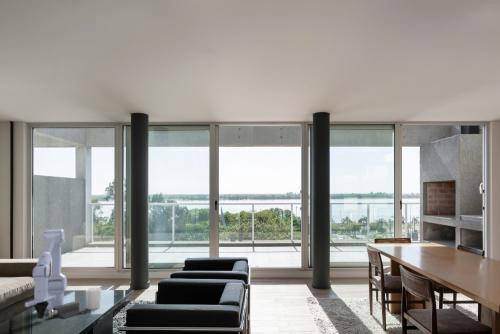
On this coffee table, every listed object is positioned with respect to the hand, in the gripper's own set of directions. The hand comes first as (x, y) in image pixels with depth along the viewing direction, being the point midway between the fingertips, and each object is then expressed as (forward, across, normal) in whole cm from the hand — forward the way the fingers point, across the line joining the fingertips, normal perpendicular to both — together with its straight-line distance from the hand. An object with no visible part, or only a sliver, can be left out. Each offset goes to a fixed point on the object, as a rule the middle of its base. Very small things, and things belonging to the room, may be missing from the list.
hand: (40, 317), depth 186 cm
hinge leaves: (+1, +14, 0) cm, 14 cm away
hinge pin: (+1, +12, 0) cm, 12 cm away
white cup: (+2, +27, -5) cm, 27 cm away
